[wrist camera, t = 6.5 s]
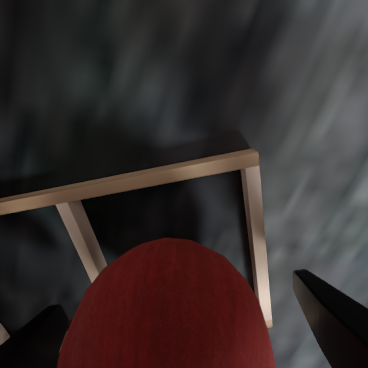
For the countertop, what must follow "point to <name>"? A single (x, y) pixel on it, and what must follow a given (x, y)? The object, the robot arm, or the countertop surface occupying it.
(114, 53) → the countertop surface
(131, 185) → the wooden frame with crossbars
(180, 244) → the onion
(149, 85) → the countertop surface
